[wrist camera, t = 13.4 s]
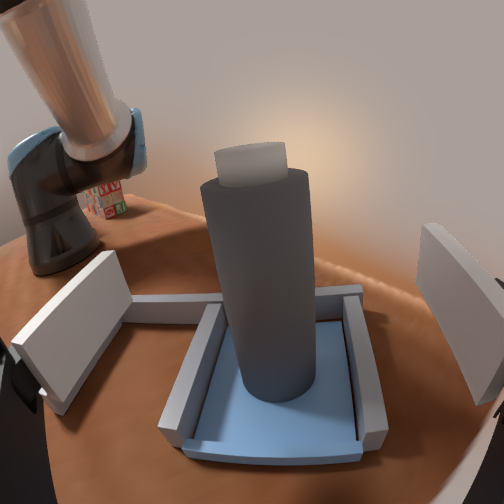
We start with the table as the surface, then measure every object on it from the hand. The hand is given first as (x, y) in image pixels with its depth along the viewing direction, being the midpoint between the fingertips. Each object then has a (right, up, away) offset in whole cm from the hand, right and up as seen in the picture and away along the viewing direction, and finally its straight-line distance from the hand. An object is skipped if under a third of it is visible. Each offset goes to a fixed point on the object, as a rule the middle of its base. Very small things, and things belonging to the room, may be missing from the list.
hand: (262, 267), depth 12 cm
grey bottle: (+1, -8, +7) cm, 11 cm away
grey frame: (-4, -8, +9) cm, 13 cm away
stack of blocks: (-41, +12, +64) cm, 77 cm away
